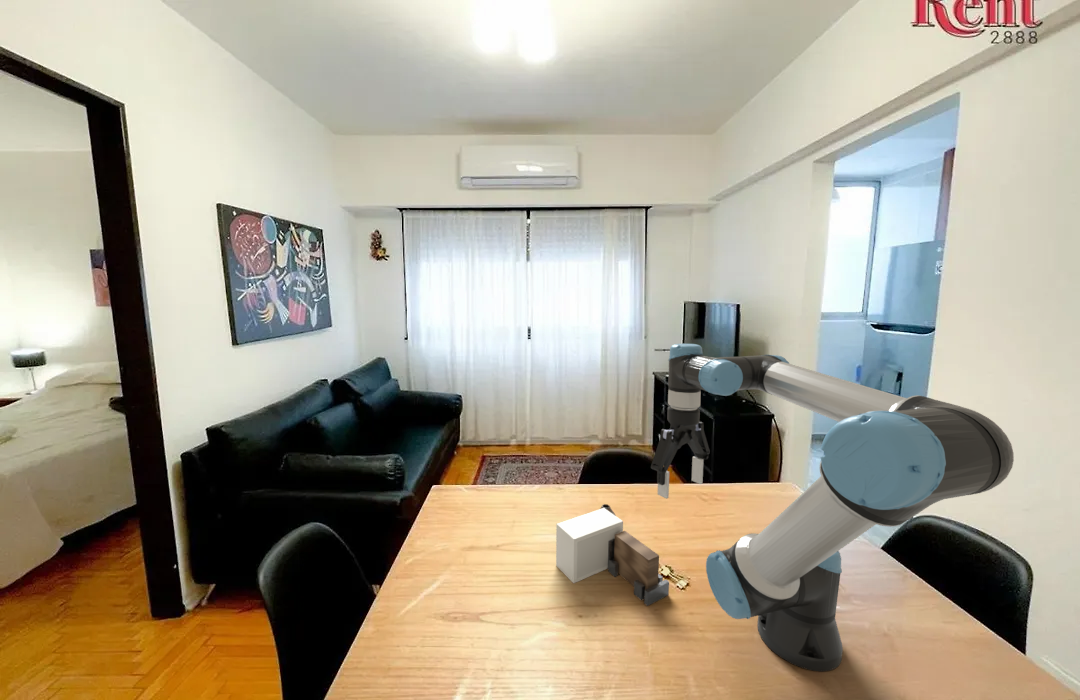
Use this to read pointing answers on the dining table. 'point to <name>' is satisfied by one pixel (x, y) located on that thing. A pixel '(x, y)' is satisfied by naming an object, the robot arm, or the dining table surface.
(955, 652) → the dining table surface
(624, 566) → the door
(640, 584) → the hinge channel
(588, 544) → the cabinet
